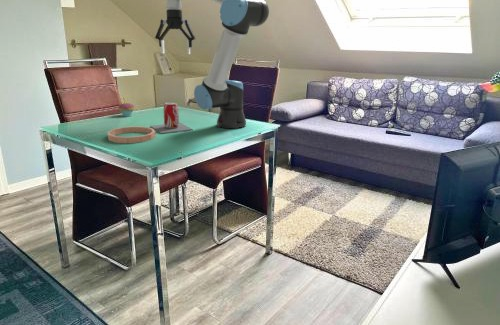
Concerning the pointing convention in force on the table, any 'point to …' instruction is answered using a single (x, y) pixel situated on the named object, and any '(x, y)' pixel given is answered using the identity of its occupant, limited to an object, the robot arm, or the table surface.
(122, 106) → the cupcake
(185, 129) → the rubber mat
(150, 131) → the orange-brown ring
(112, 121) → the table surface
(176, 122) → the soda can
